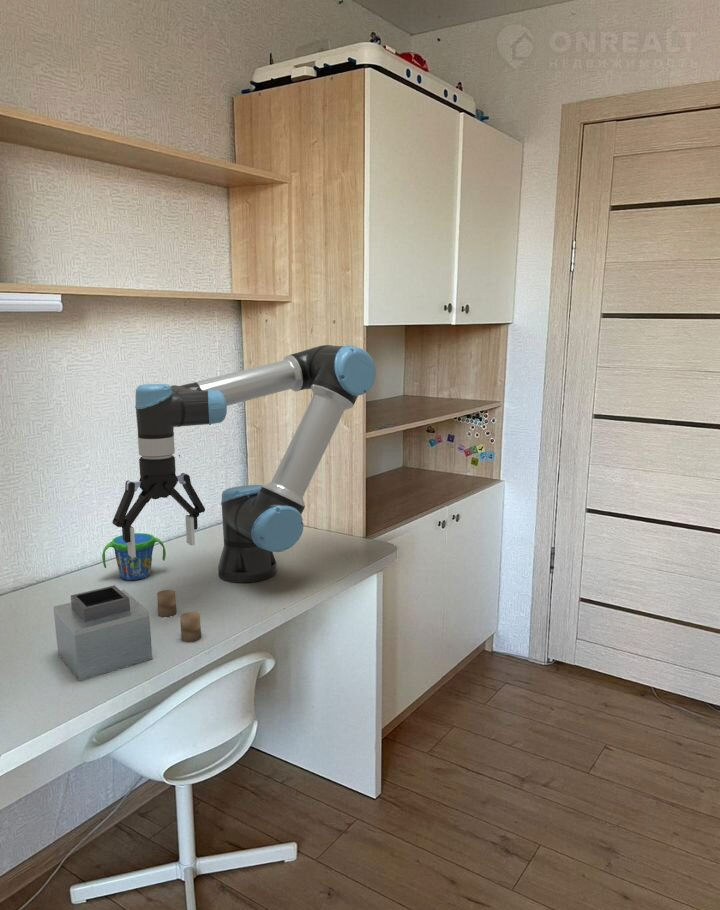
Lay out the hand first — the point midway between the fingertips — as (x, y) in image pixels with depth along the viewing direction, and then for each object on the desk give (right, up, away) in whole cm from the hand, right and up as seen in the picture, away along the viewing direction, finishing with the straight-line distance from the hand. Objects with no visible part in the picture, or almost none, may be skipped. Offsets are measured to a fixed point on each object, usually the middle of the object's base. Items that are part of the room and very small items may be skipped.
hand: (162, 549), depth 159 cm
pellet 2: (+9, -17, -9) cm, 21 cm away
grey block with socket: (-7, -19, -17) cm, 26 cm away
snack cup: (-14, -11, +27) cm, 32 cm away
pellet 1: (0, -15, +3) cm, 15 cm away
